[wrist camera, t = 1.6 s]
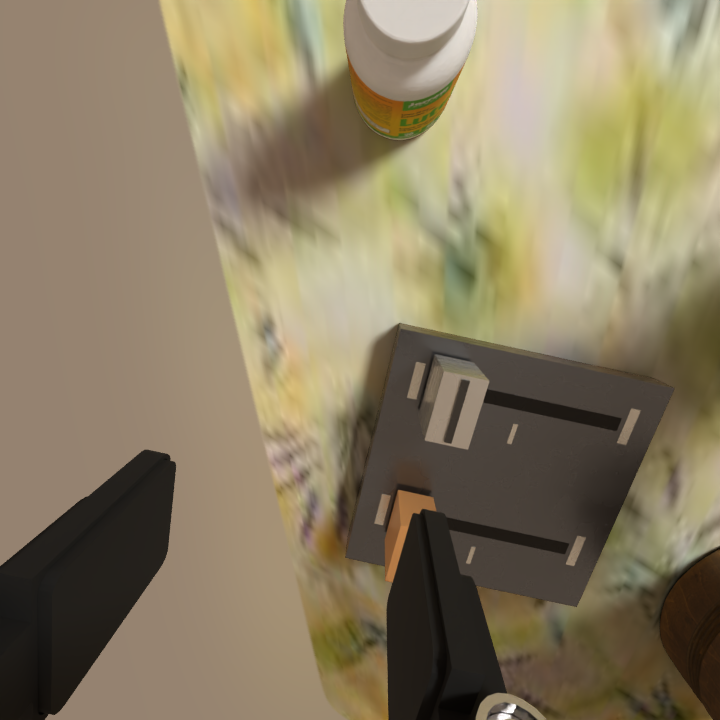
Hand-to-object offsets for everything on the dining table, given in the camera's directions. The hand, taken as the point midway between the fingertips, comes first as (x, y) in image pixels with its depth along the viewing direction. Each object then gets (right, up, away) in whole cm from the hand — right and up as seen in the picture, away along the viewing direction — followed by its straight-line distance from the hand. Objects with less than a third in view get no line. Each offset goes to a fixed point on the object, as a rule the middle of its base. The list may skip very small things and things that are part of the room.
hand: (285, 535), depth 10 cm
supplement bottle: (+4, +20, +13) cm, 24 cm away
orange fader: (+5, -6, +17) cm, 19 cm away
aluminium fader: (+7, +3, +15) cm, 16 cm away
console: (+11, -3, +19) cm, 22 cm away
